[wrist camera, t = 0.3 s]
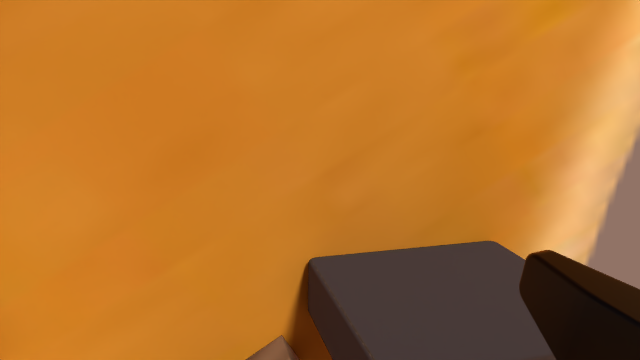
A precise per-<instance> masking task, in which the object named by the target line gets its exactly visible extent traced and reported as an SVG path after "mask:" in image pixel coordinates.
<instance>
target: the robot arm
mask: <svg viewBox="0 0 640 360" xmlns="http://www.w3.org/2000/svg"><path fill="white" fill-rule="evenodd" d="M519 291H520V295H521V298H522V300H523V301H524V303H525V305H526V307H527V309H528V310H529V312H530V314H531V316H532V318H533V319H534V321H535V323H536V325H537V327H538V328H539V330H540V332H541V334H542V335H543V337H544V339H545V341H546V343H547V344H548V346H549V348H550V350H551V352H552V353H553V355H554V357H555V359H556V360H640V289H638V288H635V287H633V286H631V285H629V284H626V283H624V282H622V281H620V280H617V279H615V278H613V277H610V276H608V275H606V274H604V273H601V272H599V271H597V270H595V269H592V268H590V267H588V266H586V265H583V264H581V263H579V262H576V261H574V260H572V259H570V258H567V257H565V256H563V255H561V254H558V253H556V252H554V251H551V250H544V251H539V252H535V253H531V254H529V255H528V256H527V258H526V260H525V264H524V268H523V272H522V275H521V279H520V283H519Z"/></svg>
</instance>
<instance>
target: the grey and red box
mask: <svg viewBox="0 0 640 360" xmlns="http://www.w3.org/2000/svg"><path fill="white" fill-rule="evenodd" d="M524 264H525V260H524V259H523V258H521V257H520V256H518V255H516V254H515V253H513V252H511V251H510V250H508V249H507V248H505V247H503V246H502V245H500V244H498V243H496V242H494V241H482V242H471V243H461V244H451V245H440V246H430V247H419V248H409V249H399V250H388V251H378V252H367V253H357V254H346V255H336V256H326V257H316V258H312V259H311V260H310V261H309V282H308V311H309V313H310V315H311V317H312V319H313V321H314V323H315V325H316V327H317V329H318V331H319V333H320V335H321V337H322V339H323V341H324V343H325V345H326V347H327V349H328V351H329V353H330V355H331V357H332V359H333V360H556V359H555V357H554V355H553V353H552V352H551V350H550V348H549V346H548V344H547V343H546V341H545V339H544V337H543V335H542V334H541V332H540V330H539V328H538V327H537V325H536V323H535V321H534V319H533V318H532V316H531V314H530V312H529V310H528V309H527V307H526V305H525V303H524V301H523V300H522V298H521V295H520V291H519V283H520V279H521V275H522V272H523V268H524Z"/></svg>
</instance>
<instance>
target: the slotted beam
mask: <svg viewBox="0 0 640 360" xmlns="http://www.w3.org/2000/svg"><path fill="white" fill-rule="evenodd" d="M246 360H300V359H299V358H298V357H297V355H296V354H295V353H294V351H293V350H292V349H291V347H290V346H289V345H288V343H287V342H286V341H285V339H284V338H283V336H282V335H281V336H280V337H278V338H277V339H275V340H274V341H272V342H271V343H270V344H268V345H267V346H265V347H264V348H262V349H261V350H259V351H258V352H256V353H255V354H253V355H252V356H251V357H249V358H248V359H246Z"/></svg>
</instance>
